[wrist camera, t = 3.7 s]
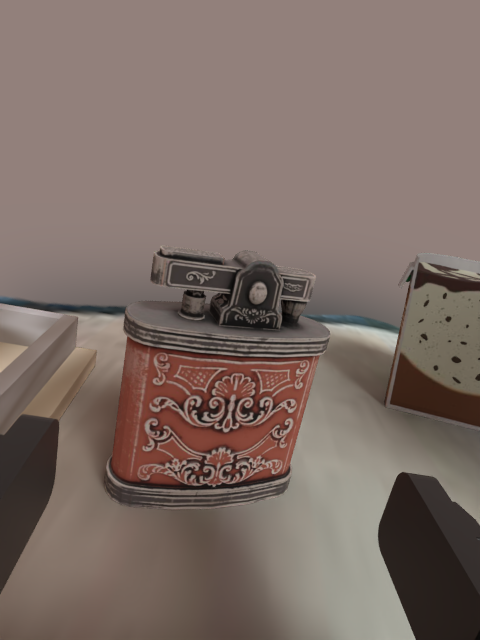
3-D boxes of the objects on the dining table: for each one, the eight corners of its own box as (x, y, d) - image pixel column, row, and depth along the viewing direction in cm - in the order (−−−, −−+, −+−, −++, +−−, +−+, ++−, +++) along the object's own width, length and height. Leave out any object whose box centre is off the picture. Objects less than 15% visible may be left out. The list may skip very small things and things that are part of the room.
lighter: (271, 453, 22) (322, 257, 19) (300, 502, 19) (365, 279, 16) (102, 458, 20) (129, 229, 16) (105, 516, 17) (139, 250, 13)
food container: (516, 406, 35) (571, 281, 31) (555, 450, 29) (627, 302, 26) (356, 366, 36) (394, 242, 33) (362, 401, 30) (409, 254, 27)
